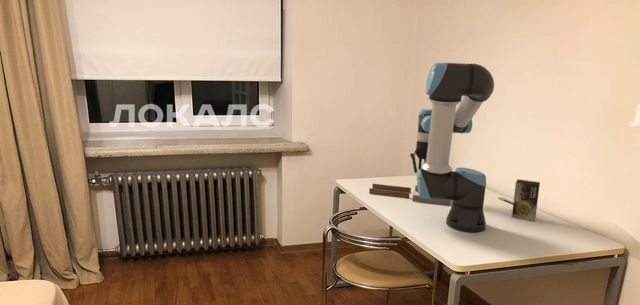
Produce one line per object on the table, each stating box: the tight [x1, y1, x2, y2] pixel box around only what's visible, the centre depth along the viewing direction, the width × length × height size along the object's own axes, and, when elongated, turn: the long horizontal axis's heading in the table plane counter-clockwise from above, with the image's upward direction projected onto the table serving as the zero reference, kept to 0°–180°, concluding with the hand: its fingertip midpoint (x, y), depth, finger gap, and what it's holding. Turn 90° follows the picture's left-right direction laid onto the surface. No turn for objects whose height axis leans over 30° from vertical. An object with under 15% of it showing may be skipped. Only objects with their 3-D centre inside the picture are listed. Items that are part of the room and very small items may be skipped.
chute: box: [368, 183, 412, 199], centre depth 200 cm, size 11×20×2 cm, turn 73°
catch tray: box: [412, 184, 451, 206], centre depth 194 cm, size 19×17×3 cm
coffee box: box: [511, 178, 541, 222], centre depth 169 cm, size 9×6×16 cm
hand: (420, 186), depth 195 cm, fingers closed
